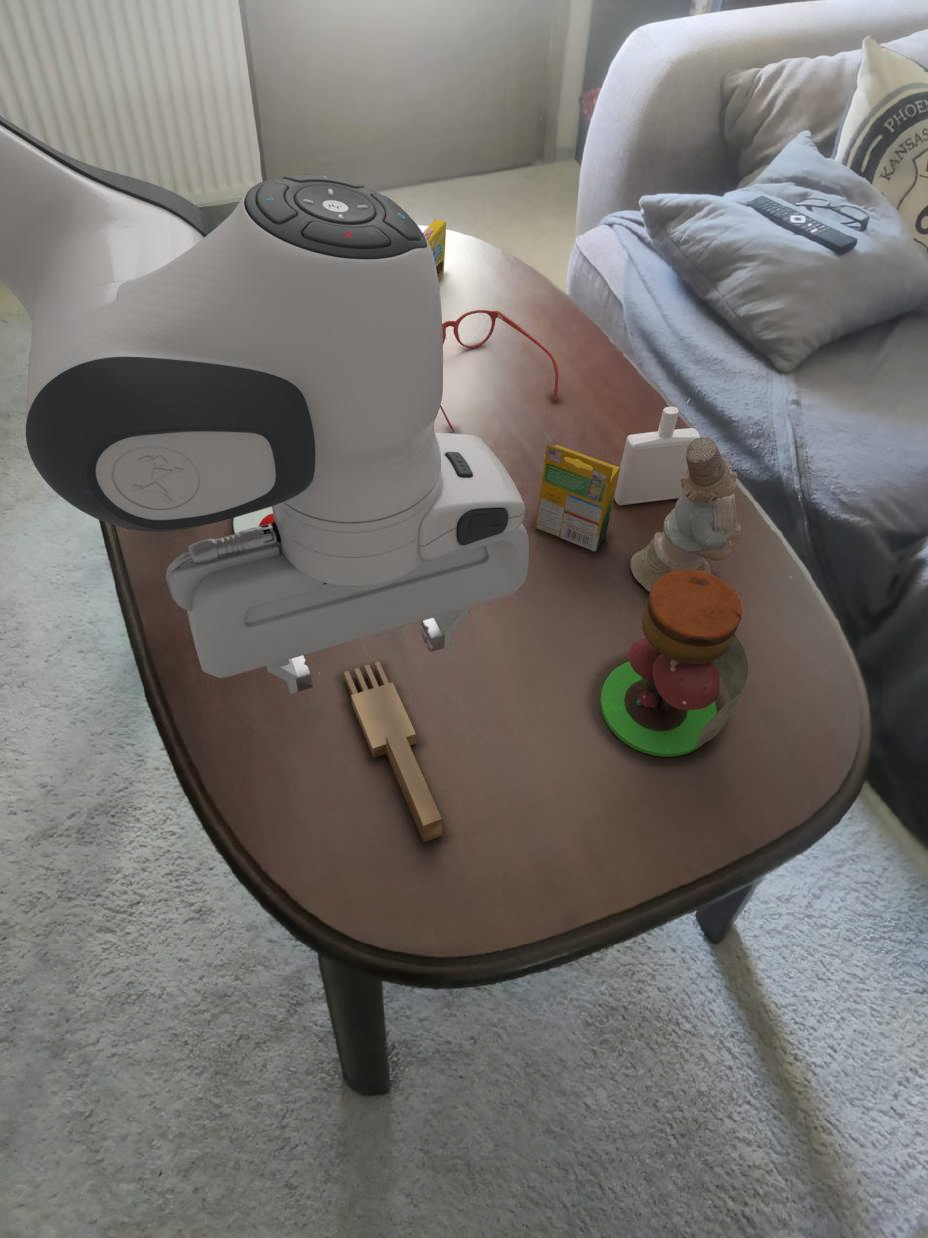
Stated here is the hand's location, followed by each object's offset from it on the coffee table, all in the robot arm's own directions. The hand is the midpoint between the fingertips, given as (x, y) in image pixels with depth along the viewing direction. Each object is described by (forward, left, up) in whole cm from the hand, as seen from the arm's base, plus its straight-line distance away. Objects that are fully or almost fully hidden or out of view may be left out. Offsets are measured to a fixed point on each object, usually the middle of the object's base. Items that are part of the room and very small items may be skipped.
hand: (368, 662), depth 57 cm
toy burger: (+27, 0, -21) cm, 34 cm away
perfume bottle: (+41, +26, -21) cm, 53 cm away
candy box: (+31, +74, -21) cm, 83 cm away
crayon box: (+30, +24, -21) cm, 44 cm away
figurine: (+37, +14, -21) cm, 45 cm away
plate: (+3, +36, -21) cm, 42 cm away
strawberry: (0, +32, -18) cm, 37 cm away
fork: (+3, +5, -21) cm, 21 cm away
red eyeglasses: (+31, +53, -21) cm, 65 cm away
